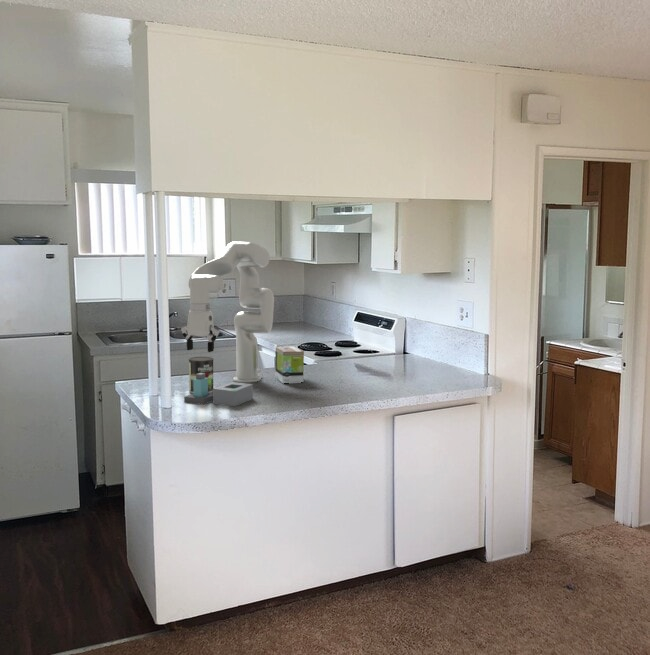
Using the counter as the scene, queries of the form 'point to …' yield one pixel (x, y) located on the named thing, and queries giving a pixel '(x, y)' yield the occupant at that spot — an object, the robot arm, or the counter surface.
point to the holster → (199, 399)
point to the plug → (200, 385)
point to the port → (232, 393)
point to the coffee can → (201, 371)
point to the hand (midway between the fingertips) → (200, 350)
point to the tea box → (289, 364)
